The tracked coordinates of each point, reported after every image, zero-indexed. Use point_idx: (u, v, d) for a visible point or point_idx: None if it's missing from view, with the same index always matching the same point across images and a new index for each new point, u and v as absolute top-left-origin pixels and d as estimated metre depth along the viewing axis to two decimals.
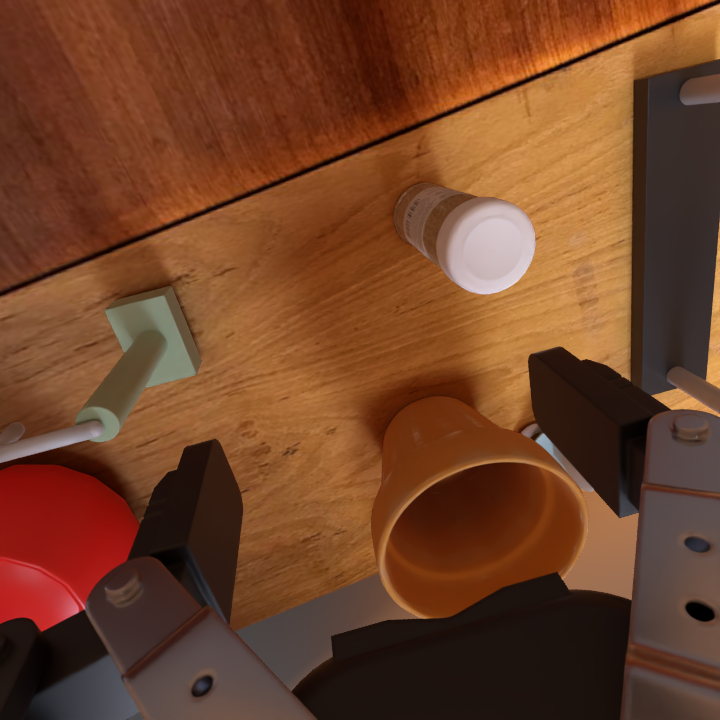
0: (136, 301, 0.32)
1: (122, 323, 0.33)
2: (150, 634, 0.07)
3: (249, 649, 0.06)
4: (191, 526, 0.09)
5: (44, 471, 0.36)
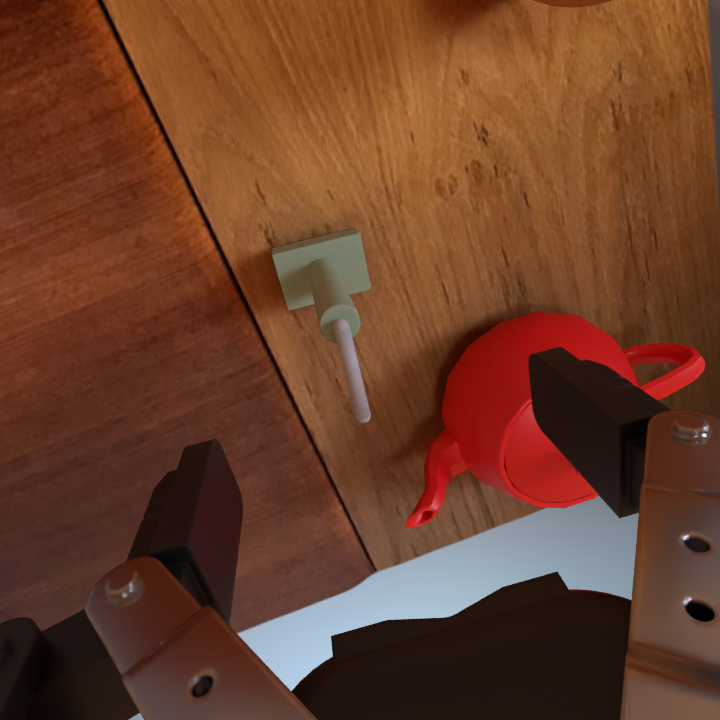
0: None
1: (301, 296, 0.34)
2: (150, 634, 0.07)
3: (249, 649, 0.06)
4: (191, 526, 0.09)
5: (449, 385, 0.39)
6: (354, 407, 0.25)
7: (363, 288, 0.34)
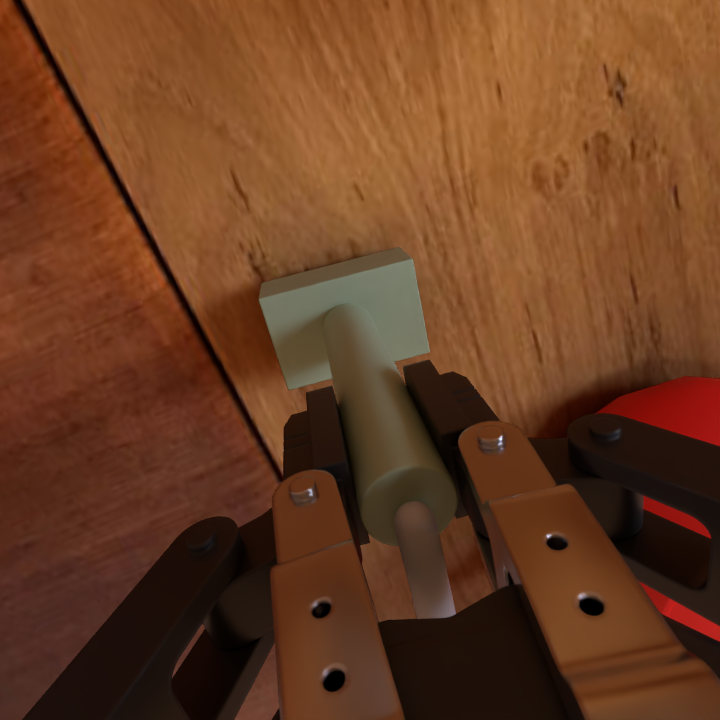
0: None
1: (310, 367, 0.20)
2: (307, 541, 0.08)
3: (368, 599, 0.06)
4: (343, 448, 0.10)
5: None
6: None
7: (416, 351, 0.20)
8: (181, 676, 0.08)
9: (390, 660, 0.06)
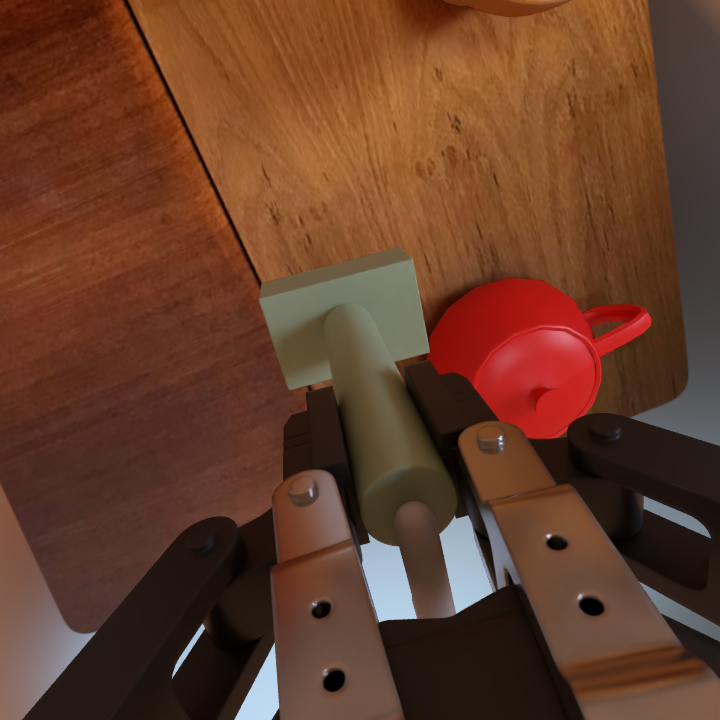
0: None
1: (310, 367, 0.20)
2: (307, 540, 0.08)
3: (368, 599, 0.06)
4: (343, 448, 0.10)
5: (430, 342, 0.44)
6: None
7: (416, 351, 0.20)
8: (181, 676, 0.08)
9: (390, 660, 0.06)
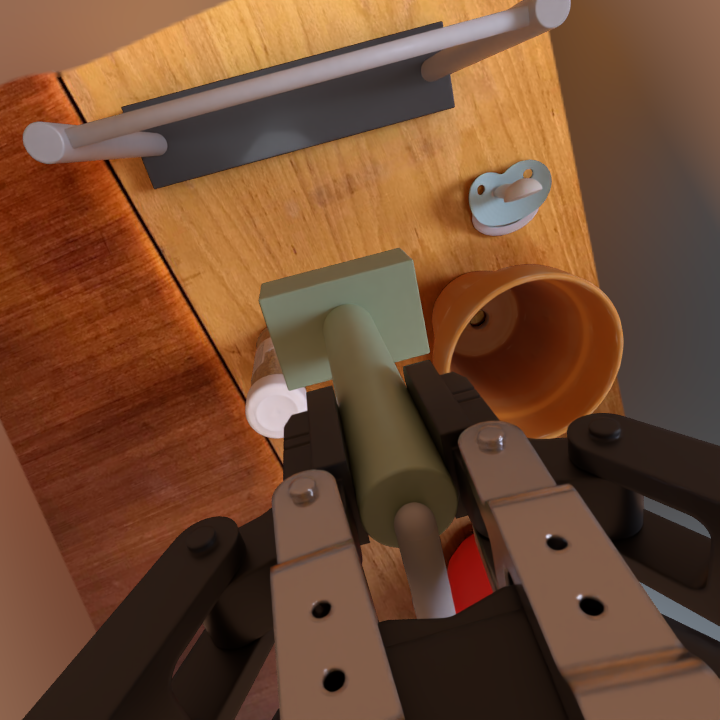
0: None
1: (310, 368, 0.20)
2: (307, 540, 0.08)
3: (368, 598, 0.06)
4: (343, 448, 0.10)
5: (449, 570, 0.58)
6: None
7: (416, 352, 0.20)
8: (181, 676, 0.08)
9: (390, 660, 0.06)
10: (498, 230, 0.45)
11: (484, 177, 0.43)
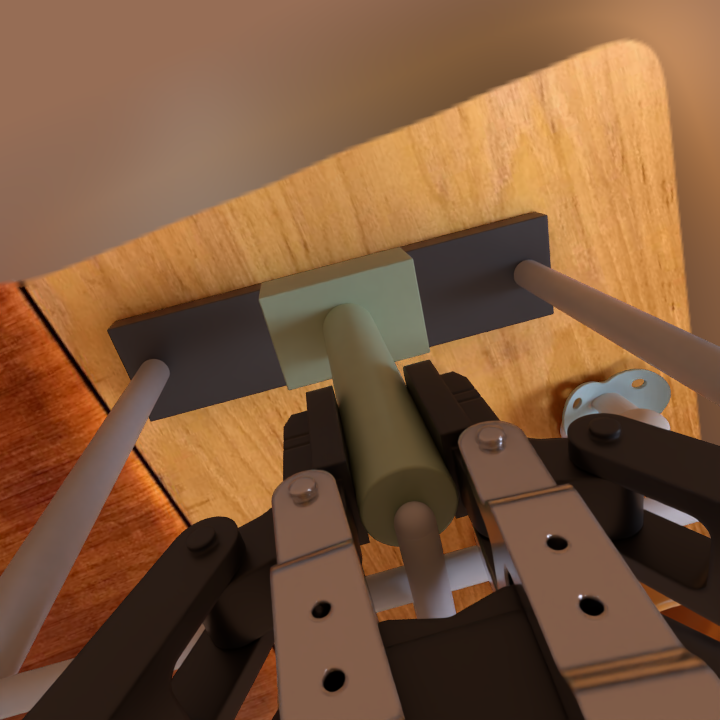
0: (273, 342, 0.19)
1: (310, 367, 0.20)
2: (307, 541, 0.08)
3: (368, 598, 0.06)
4: (343, 449, 0.10)
5: None
6: None
7: (416, 351, 0.20)
8: (181, 676, 0.08)
9: (390, 660, 0.06)
10: None
11: (582, 390, 0.33)
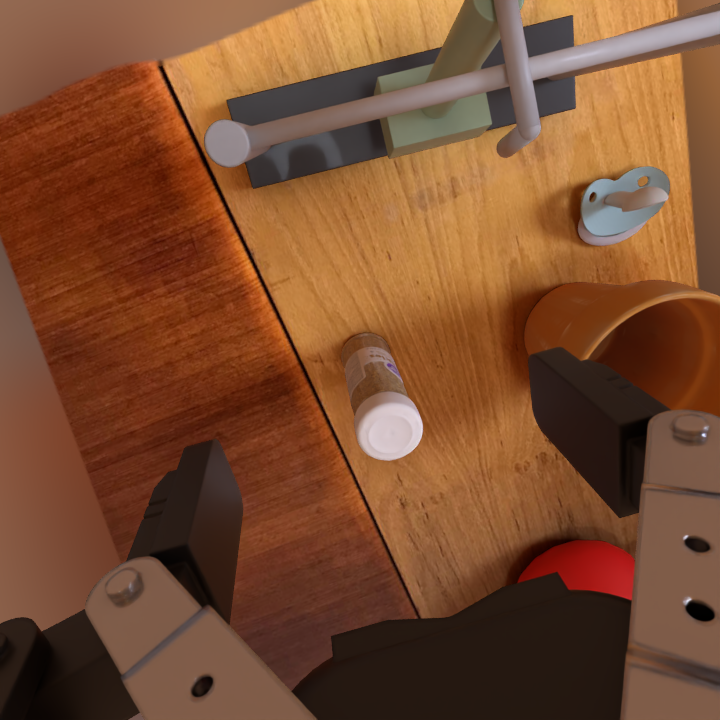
0: None
1: (409, 130, 0.29)
2: (150, 634, 0.07)
3: (249, 649, 0.06)
4: (191, 526, 0.09)
5: None
6: (519, 110, 0.18)
7: (482, 122, 0.29)
8: None
9: None
10: (603, 240, 0.42)
11: (597, 184, 0.40)
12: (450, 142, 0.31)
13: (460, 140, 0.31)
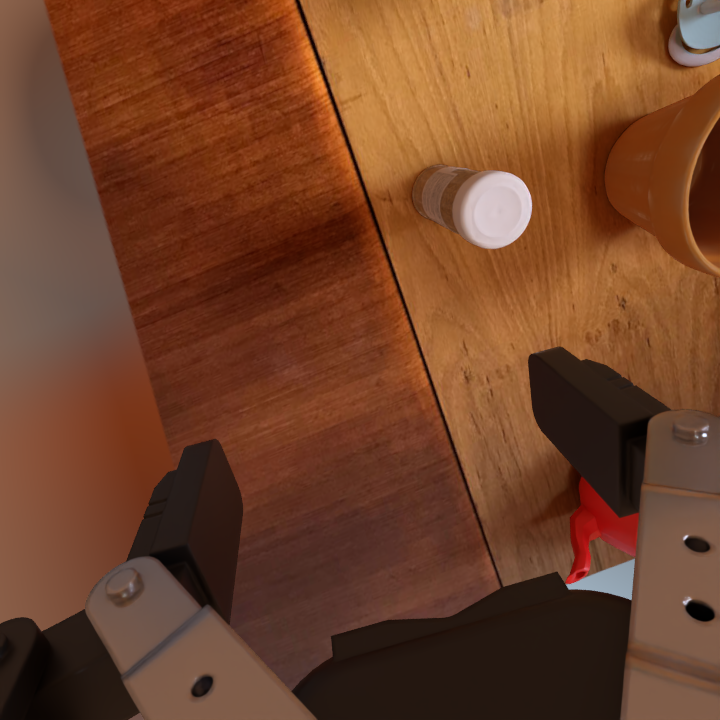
0: None
1: None
2: (150, 634, 0.07)
3: (249, 649, 0.06)
4: (191, 526, 0.09)
5: None
6: None
7: None
8: None
9: None
10: (695, 58, 0.40)
11: None
12: None
13: None
